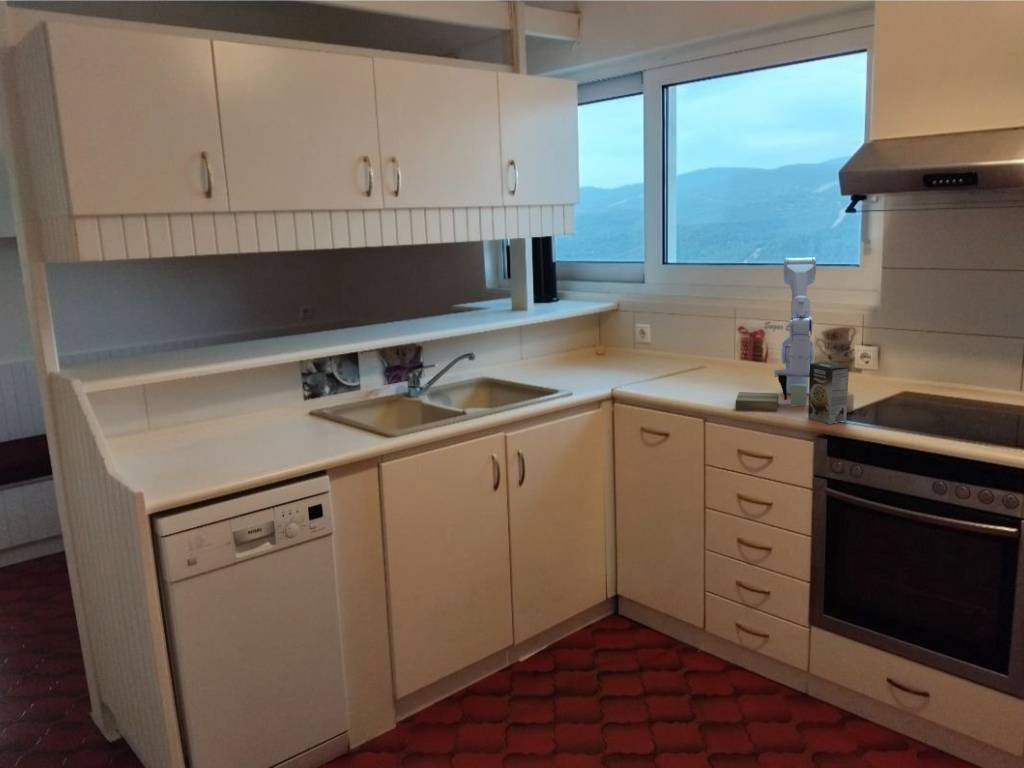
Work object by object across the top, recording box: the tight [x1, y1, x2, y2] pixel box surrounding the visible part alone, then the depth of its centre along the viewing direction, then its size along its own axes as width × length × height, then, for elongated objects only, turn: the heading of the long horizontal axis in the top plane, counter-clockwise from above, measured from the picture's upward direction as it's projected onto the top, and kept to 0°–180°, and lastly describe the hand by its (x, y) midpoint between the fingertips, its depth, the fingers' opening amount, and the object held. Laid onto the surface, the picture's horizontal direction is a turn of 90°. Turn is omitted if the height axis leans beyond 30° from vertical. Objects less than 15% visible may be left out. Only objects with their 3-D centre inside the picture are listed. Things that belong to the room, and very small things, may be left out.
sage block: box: [790, 384, 808, 407], centre depth 253 cm, size 4×4×6 cm
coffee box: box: [807, 361, 850, 425], centre depth 232 cm, size 9×6×16 cm
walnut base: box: [735, 391, 780, 412], centre depth 253 cm, size 12×12×3 cm
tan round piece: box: [847, 392, 855, 413], centre depth 243 cm, size 5×5×5 cm
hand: (798, 399), depth 253 cm, fingers open, 7 cm apart
